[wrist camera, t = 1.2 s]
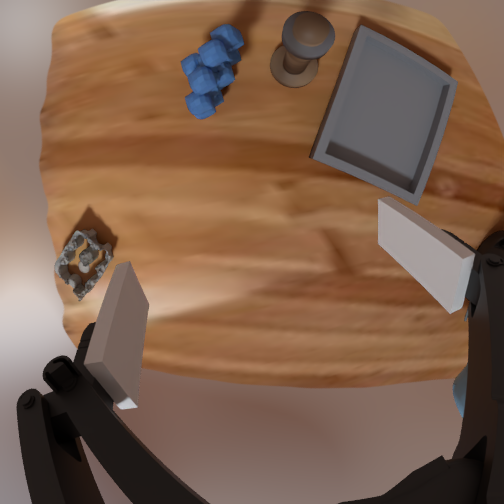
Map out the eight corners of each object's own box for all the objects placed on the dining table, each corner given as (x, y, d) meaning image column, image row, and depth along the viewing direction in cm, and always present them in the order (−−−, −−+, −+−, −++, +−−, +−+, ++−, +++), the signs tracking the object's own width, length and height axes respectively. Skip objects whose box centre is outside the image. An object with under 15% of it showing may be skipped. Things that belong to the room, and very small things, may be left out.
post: (321, 56, 34) (354, 14, 19) (307, 94, 36) (335, 68, 21) (278, 41, 33) (288, -10, 19) (263, 78, 35) (266, 43, 21)
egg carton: (90, 293, 47) (79, 305, 43) (60, 263, 45) (47, 273, 41) (121, 253, 44) (110, 263, 40) (88, 220, 42) (75, 227, 39)
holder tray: (447, 84, 33) (458, 81, 30) (407, 201, 40) (417, 205, 37) (354, 31, 32) (360, 24, 29) (308, 157, 39) (312, 158, 36)
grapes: (209, 35, 33) (191, 0, 22) (256, 51, 34) (255, 17, 22) (174, 110, 37) (142, 100, 25) (221, 127, 37) (205, 121, 26)
